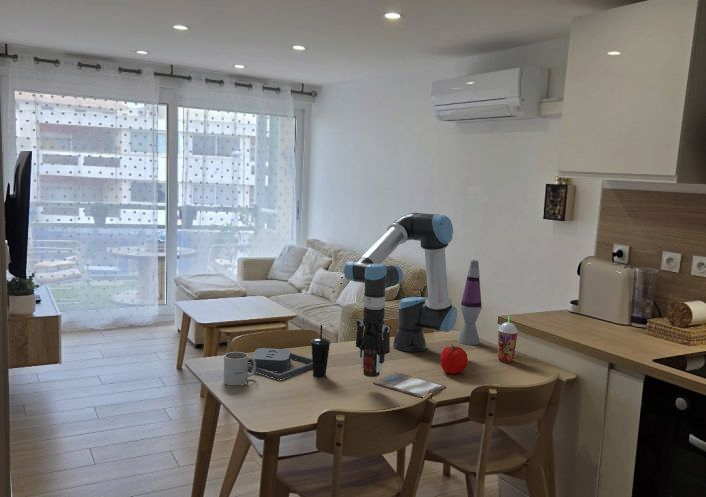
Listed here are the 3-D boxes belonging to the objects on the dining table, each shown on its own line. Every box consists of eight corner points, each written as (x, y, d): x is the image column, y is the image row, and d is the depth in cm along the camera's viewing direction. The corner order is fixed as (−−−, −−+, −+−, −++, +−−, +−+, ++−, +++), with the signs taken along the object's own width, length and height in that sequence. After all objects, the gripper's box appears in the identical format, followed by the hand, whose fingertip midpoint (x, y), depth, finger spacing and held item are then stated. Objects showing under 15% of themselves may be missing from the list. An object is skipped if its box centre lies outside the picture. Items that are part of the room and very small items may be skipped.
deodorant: (362, 371, 213) (364, 331, 211) (378, 371, 213) (380, 332, 211) (364, 377, 207) (365, 336, 205) (380, 377, 208) (382, 336, 206)
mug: (227, 387, 206) (227, 360, 205) (221, 379, 214) (221, 353, 213) (260, 383, 212) (261, 356, 211) (253, 375, 219) (254, 350, 218)
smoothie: (513, 358, 257) (517, 314, 254) (516, 364, 248) (520, 319, 246) (494, 357, 257) (497, 313, 255) (497, 363, 249) (500, 317, 247)
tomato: (450, 366, 242) (451, 340, 241) (473, 373, 234) (475, 346, 232) (432, 371, 234) (434, 345, 232) (455, 379, 226) (457, 352, 224)
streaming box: (256, 359, 239) (257, 347, 238) (291, 361, 238) (292, 349, 238) (249, 371, 224) (250, 358, 224) (286, 373, 224) (287, 360, 223)
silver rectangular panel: (373, 383, 217) (373, 380, 217) (395, 373, 230) (396, 369, 230) (424, 399, 204) (425, 395, 204) (445, 387, 217) (445, 383, 217)
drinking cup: (332, 373, 225) (334, 323, 223) (324, 380, 218) (327, 328, 216) (314, 370, 228) (316, 321, 225) (306, 376, 221) (308, 325, 218)
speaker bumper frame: (235, 366, 229) (235, 361, 229) (277, 353, 248) (277, 348, 248) (279, 380, 215) (279, 375, 215) (319, 365, 234) (319, 361, 234)
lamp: (457, 343, 276) (463, 261, 271) (457, 337, 286) (462, 258, 281) (480, 345, 274) (486, 262, 269) (479, 339, 285) (485, 259, 280)
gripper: (346, 304, 209) (344, 365, 213) (390, 313, 198) (387, 378, 202) (358, 301, 215) (356, 360, 219) (402, 309, 204) (399, 372, 208)
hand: (371, 369), depth 210 cm, fingers closed on deodorant, 6 cm apart
